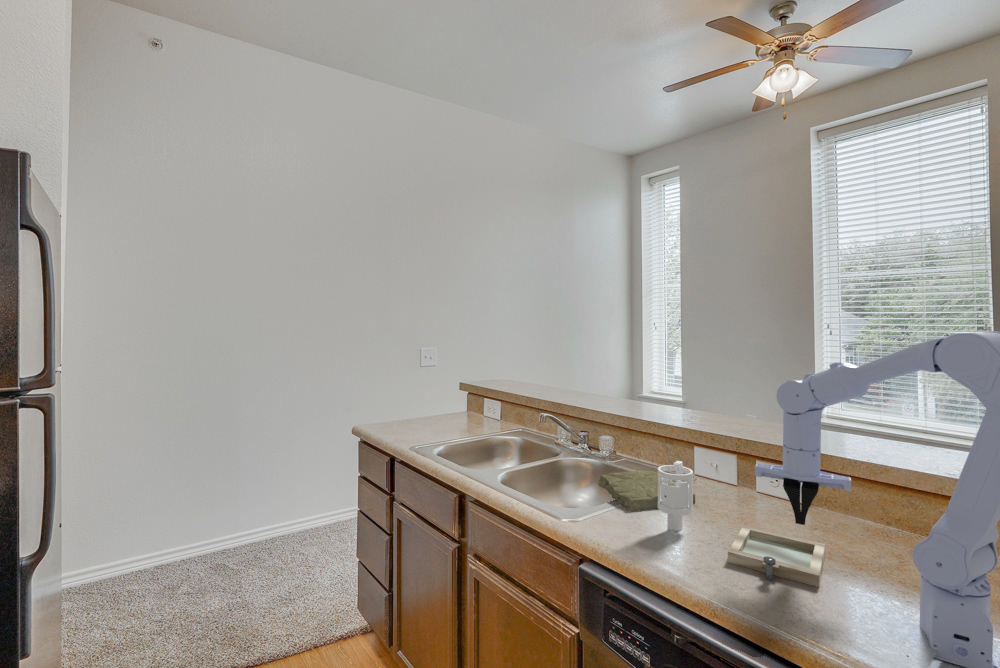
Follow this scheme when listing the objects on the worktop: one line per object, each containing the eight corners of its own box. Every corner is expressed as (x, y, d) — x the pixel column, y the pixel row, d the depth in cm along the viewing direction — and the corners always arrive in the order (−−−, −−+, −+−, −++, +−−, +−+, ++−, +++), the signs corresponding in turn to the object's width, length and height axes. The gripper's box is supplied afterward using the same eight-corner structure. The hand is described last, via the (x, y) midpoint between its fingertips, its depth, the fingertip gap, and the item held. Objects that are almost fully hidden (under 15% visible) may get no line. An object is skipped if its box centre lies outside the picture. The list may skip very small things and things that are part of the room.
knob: (774, 591, 82) (774, 562, 82) (762, 588, 83) (762, 559, 83) (775, 586, 84) (776, 558, 83) (763, 583, 85) (764, 555, 85)
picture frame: (818, 590, 80) (818, 578, 80) (726, 564, 88) (726, 553, 88) (825, 554, 92) (825, 544, 92) (743, 535, 100) (743, 525, 100)
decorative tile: (651, 479, 141) (651, 467, 141) (696, 505, 121) (696, 491, 121) (592, 486, 136) (592, 473, 136) (629, 513, 116) (629, 499, 116)
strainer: (696, 532, 105) (696, 463, 104) (687, 544, 99) (687, 471, 99) (663, 524, 109) (663, 457, 109) (653, 535, 103) (653, 465, 103)
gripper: (851, 448, 86) (849, 524, 87) (758, 437, 94) (758, 506, 95) (851, 457, 80) (850, 538, 81) (753, 444, 89) (752, 518, 89)
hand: (800, 522), depth 87 cm, fingers closed
